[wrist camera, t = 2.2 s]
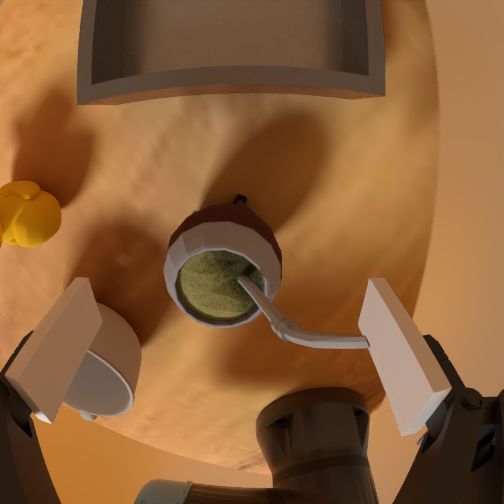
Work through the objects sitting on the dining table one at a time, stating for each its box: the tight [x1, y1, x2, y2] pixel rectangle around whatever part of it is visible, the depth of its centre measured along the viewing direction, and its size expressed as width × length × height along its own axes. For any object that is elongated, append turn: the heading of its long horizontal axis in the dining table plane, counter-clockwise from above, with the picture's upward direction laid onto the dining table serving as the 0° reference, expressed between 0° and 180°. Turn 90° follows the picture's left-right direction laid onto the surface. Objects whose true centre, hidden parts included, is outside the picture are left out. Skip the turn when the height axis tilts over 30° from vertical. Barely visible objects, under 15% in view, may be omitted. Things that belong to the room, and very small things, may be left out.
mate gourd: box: [163, 194, 370, 349], centre depth 15 cm, size 8×8×15 cm
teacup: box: [62, 302, 141, 421], centre depth 24 cm, size 14×11×8 cm
